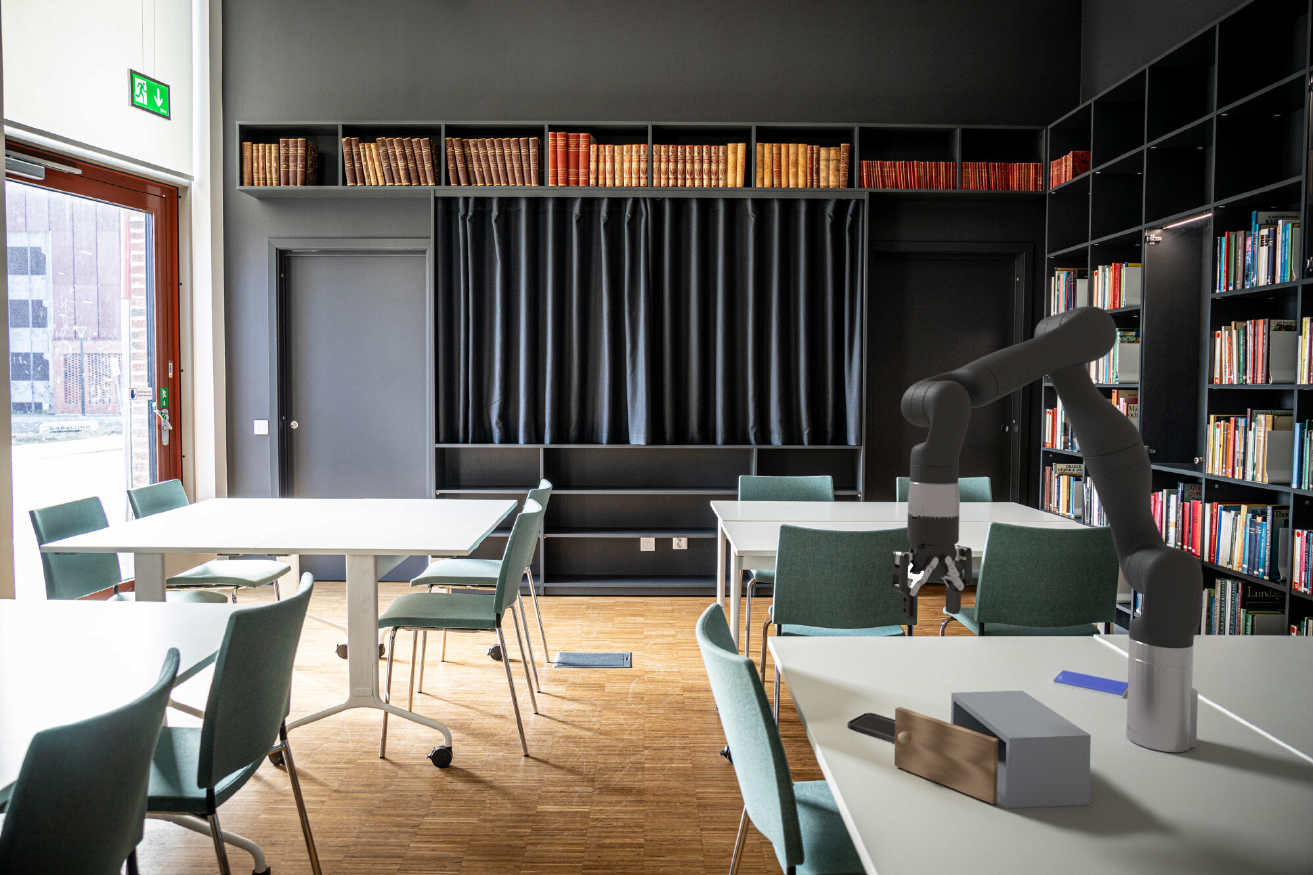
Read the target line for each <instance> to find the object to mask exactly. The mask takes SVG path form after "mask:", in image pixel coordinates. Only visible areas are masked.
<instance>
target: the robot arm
mask: <svg viewBox="0 0 1313 875" xmlns="http://www.w3.org/2000/svg"><path fill="white" fill-rule="evenodd" d="M1117 333H1118V332H1117V326H1116V323H1115V321H1114V319H1113V317H1112V316H1111V315H1110V313H1108V311H1106V310H1105V309H1103V308H1101V307H1099V306H1094V305H1093V306H1091V305H1087V306H1078V307H1075V308H1073V309H1072V308H1071V309H1069V310H1066V311H1062V312H1060V313H1057V314H1052V315H1050V316H1047V317H1045V318H1043V319H1042V320H1040V321H1039V323H1038V324H1037V325H1036V328H1035V329H1034V335H1033V336H1034V337H1033V338H1031V339H1028V340H1026V341H1023V342H1020V343H1017V344H1013V345H1011V346H1007V347H1006V348H1003V349H999V350H997V351H994V352H992V353H989V354H987V355H985V356H983V357H980V358H978V359H976V360H974V361H971V362H969V363H967V364H965V365H964V366H961V367H959V368H957V369H953V370H950V371H948V372H943V373H941V374H937V375H934V376H931V377H927V378H925V379H924V378H923V379H922V380H920V381H917V382H915V383H914V384H912V385H911V386H910V387H909V388H908V389H906V391H905V392H904V394H903V396H902V399H901V403H900V409H901V413H902V415H903V418H904V419H905V420H906V421H907V422H909V423H911V424H912V425H913V426H917V427H921V428H929V431H928V435H927V438H926V441H924V442H922V443H918V444H915V445H914V446H913V447H912V449H911V452H910V466H909V469H910V470H909V489H908V496H907V527H906V528H907V530H906V531H907V533H906V534H907V535H906V537H907V540H908V541H909V544H910V547H909V549H908V551H907V552H906V551H905V552H904V551H900V550H899V551H898V550H894V551H893V552H892V554H891V566H890V567H891V568H890V569H891V571H890V584H889V586H890V587H889V588H890V589H891V590H893V591H896V592H898V593H900V594H901V614H902V616H903V617H904V619H907V620H908V621H909V620H910V621H916V620H917V618H918V596H917V593H918V591H919V590H920V588H921V586H922V585H925V583H927V581H928V580H932V579H935V578H941V579H942V580H943V582H944V583H945V585H946V587H947V588H945V611H946V612H947V613H948V614H951V615H958V614H960V610H961V607H962V591H963V589H964V588H965V587H966V586H971V585H972V584H973V556H972V552H973V551H972V548H971V547H967V546H963V545H959V544H958V543H959V542H960V503H961V502H960V501H961V500H960V499H961V498H960V489H959V466H960V464H959V457H960V454H961V451H962V447H963V444H964V442H965V441H964V440H965V438H966V434H967V429H968V428H969V423H970V419H971V414H972V409H977V408H982V407H984V406H987V405H989V404H992V403H993V402H996V401H997V400H1000V399H1002V398H1003V397H1005V396H1007V395H1009V394H1011V393H1013V392H1016V391H1017V390H1020V389H1021V388H1023V387H1026V386H1027V385H1029V384H1032V383H1033V382H1035V381H1037V380H1039V379H1041V378H1043V377H1045V376H1048V378H1049V380H1050V383H1051V384H1052V386H1053V389H1054V390H1055V392H1056V394H1057V396H1058V399H1059V400H1060V402H1061V404H1062V407H1063V409H1064V412H1065V414H1066V417H1067V419H1068V421H1069V424H1070V426H1071V429H1072V431H1073V433H1074V436H1075V440H1076V442H1077V445H1078V447H1079V450H1080V454H1081V456H1082V459H1083V462H1084V464H1085V467H1086V470H1087V473H1088V475H1089V477H1090V479H1091V481H1092V484H1093V488H1094V489H1095V491H1096V494H1097V498H1098V500H1099V502H1100V505H1101V508H1102V509H1103V512H1104V515H1105V516H1106V519H1107V522H1108V526H1109V527H1110V532H1111V535H1112V539H1113V544H1114V548H1115V550H1116V551H1115V552H1116V554H1117V556H1116V557H1117V560H1118V564H1119V567H1120V568H1119V569H1120V570H1121V574H1122V576H1123V578H1124V580H1125V581H1126V583H1127V585H1128V586H1129V587H1130V588H1131V589H1132V590H1134V591H1135V592H1137V593H1139V594H1141V595H1142V596H1143V597H1142V598H1143V599H1142V611H1141V614H1140V615H1139V617H1133V618H1132V619H1131V620H1130V621H1129V625H1128V657H1127V658H1128V660H1127V662H1128V664H1127V683H1128V691H1127V692H1126V693H1127V695H1126V696H1127V699H1126V700H1127V701H1126V730H1125V731H1126V737H1127V738H1128V740H1130V741H1131V742H1133V743H1134V744H1136V745H1138V746H1142V747H1143V748H1147V749H1151V750H1155V751H1161V752H1169V753H1182V752H1186V751H1189V750H1190V749H1191V748H1197V741H1198V740H1197V739H1198V736H1197V735H1198V733H1197V732H1198V705H1199V704H1198V702H1199V700H1198V699H1199V698H1198V697H1199V693H1198V692H1199V691H1198V690H1197V689H1195V688H1194V687H1193V679H1194V678H1193V674H1194V673H1193V672H1194V671H1193V670H1194V642H1195V641H1194V640H1195V635H1196V634H1197V631H1198V629H1199V627H1200V624H1201V618H1202V617H1201V614H1202V604H1203V595H1204V594H1203V590H1204V589H1203V588H1204V579H1203V578H1204V577H1203V571H1202V567H1201V565H1200V563H1199V562H1198V560H1197V558H1196V557H1194V556H1193V555H1192V554H1191V553H1189V552H1187V551H1185V550H1183V549H1181V548H1177V547H1174V546H1170V545H1167V543H1166V542H1165V540H1164V538H1163V537H1162V534H1161V532H1160V530H1159V527H1158V525H1157V522H1156V520H1155V518H1154V515H1153V511H1152V504H1151V501H1152V500H1151V499H1152V498H1151V497H1152V487H1153V486H1152V485H1153V471H1152V470H1153V469H1152V464H1151V461H1150V458H1149V454H1148V452H1147V449H1146V446H1145V444H1144V441H1143V439H1142V436H1141V433H1140V432H1139V429H1138V428H1137V426H1136V425H1135V424H1134V423H1133V422H1132V421H1131V419H1130V418H1128V417H1127V415H1126V414H1125V413H1123V412H1122V411H1121V410H1120V409H1119V408H1118V407H1117V406H1115V405H1114V404H1113V403H1112V402H1111V401H1110V400H1108V398H1106V397H1105V396H1104V395H1103V394H1102V393H1101V391H1100V390H1099V389H1098V388H1097V386H1096V385H1095V384H1094V382H1093V380H1092V377H1091V375H1090V373H1089V371H1088V369H1087V366H1086V364H1089V363H1092V362H1095V361H1098V360H1100V359H1102V358H1104V357H1105V356H1107V355H1108V354H1109V353H1110V352H1111V351H1112V349H1114V347H1115V345H1116V342H1117V337H1118V336H1117ZM956 544H957V545H956Z"/></svg>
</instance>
